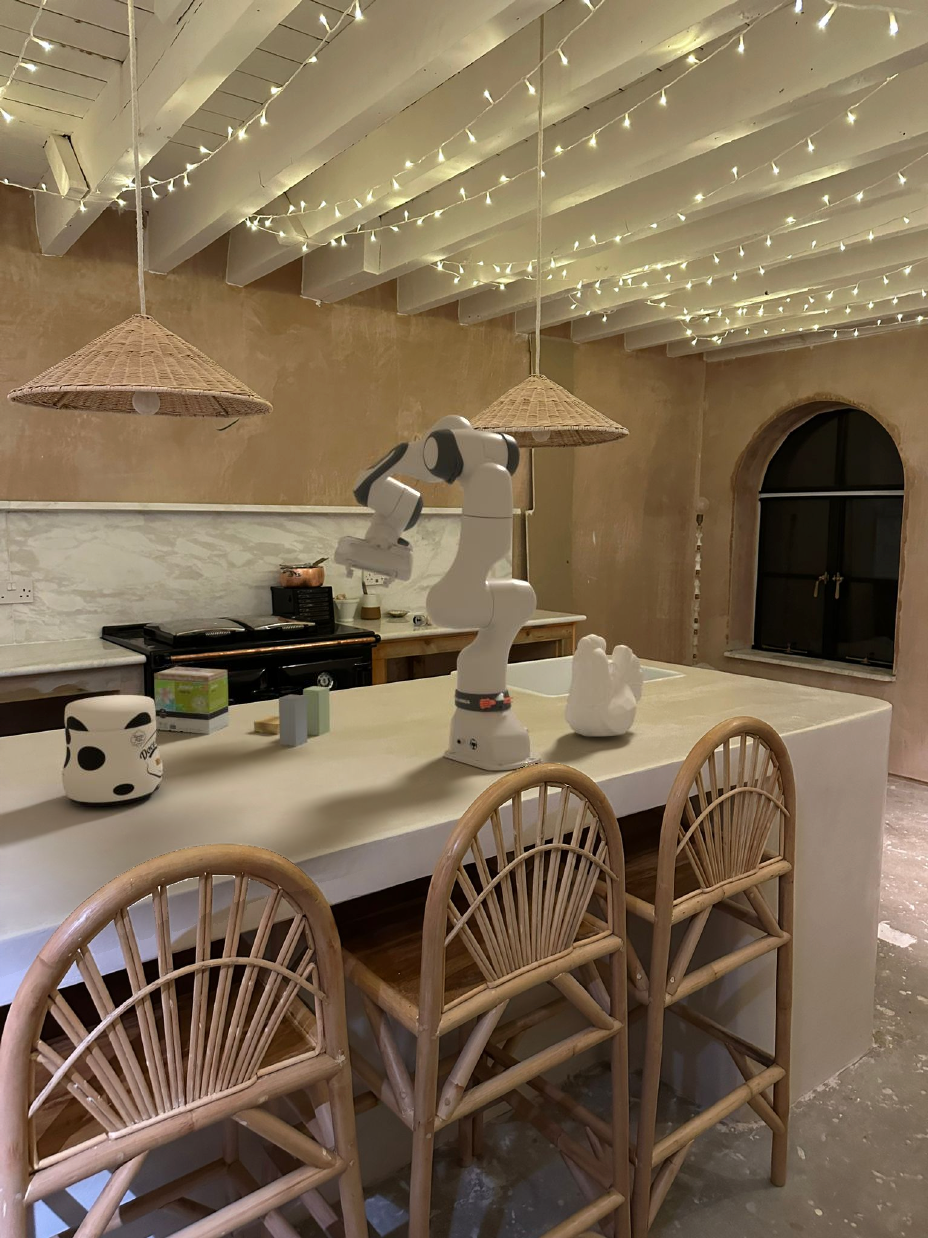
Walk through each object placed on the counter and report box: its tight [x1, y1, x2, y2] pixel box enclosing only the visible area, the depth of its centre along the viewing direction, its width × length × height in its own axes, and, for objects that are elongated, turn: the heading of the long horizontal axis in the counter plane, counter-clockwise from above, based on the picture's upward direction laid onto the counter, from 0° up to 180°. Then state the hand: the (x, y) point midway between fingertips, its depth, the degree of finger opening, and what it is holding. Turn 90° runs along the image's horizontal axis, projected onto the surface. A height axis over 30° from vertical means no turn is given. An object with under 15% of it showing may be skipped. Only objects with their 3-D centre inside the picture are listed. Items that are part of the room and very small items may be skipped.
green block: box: [302, 685, 331, 737], centre depth 209 cm, size 4×4×11 cm
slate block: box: [278, 693, 308, 747], centre depth 199 cm, size 4×4×11 cm
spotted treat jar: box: [61, 694, 164, 807], centre depth 159 cm, size 17×17×18 cm
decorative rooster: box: [563, 633, 644, 737], centre depth 208 cm, size 25×16×25 cm, turn 120°
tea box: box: [153, 666, 229, 735], centre depth 213 cm, size 15×10×15 cm, turn 76°
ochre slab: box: [253, 715, 280, 735], centre depth 213 cm, size 7×7×2 cm
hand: (367, 581), depth 215 cm, fingers open, 8 cm apart
